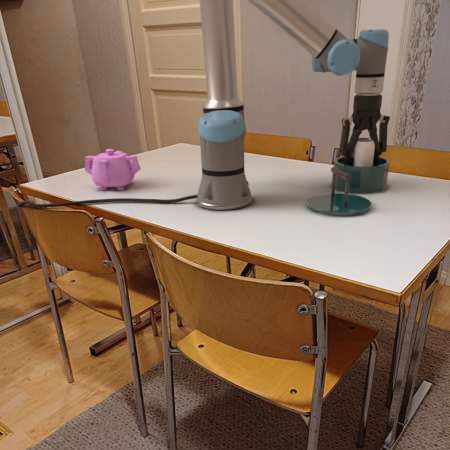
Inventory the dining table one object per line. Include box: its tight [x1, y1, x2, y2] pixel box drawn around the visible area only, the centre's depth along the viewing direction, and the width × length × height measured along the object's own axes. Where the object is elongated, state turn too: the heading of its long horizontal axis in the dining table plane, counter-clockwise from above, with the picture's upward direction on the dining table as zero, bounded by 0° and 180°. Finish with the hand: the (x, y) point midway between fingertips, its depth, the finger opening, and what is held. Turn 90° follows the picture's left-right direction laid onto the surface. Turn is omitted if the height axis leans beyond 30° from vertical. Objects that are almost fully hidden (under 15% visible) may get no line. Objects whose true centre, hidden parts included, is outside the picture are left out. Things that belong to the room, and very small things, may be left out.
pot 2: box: [333, 155, 391, 194], centre depth 138 cm, size 16×16×8 cm
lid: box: [306, 166, 372, 216], centre depth 122 cm, size 17×17×10 cm
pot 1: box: [84, 148, 141, 191], centre depth 147 cm, size 18×17×12 cm
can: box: [351, 137, 375, 167], centre depth 136 cm, size 6×6×12 cm
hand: (360, 177), depth 139 cm, fingers closed on can, 6 cm apart
